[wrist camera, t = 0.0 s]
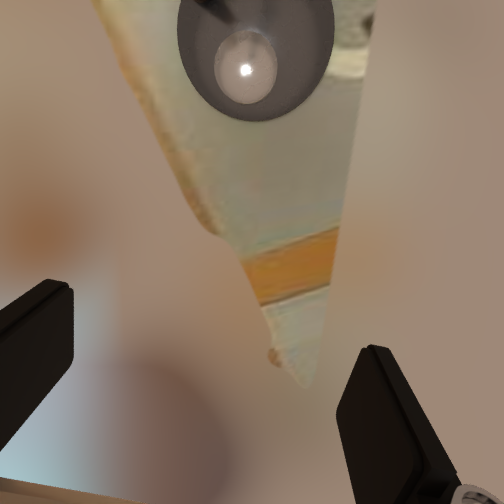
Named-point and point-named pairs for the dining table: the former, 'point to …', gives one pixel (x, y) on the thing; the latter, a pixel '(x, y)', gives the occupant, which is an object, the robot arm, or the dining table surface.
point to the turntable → (279, 36)
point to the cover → (246, 67)
